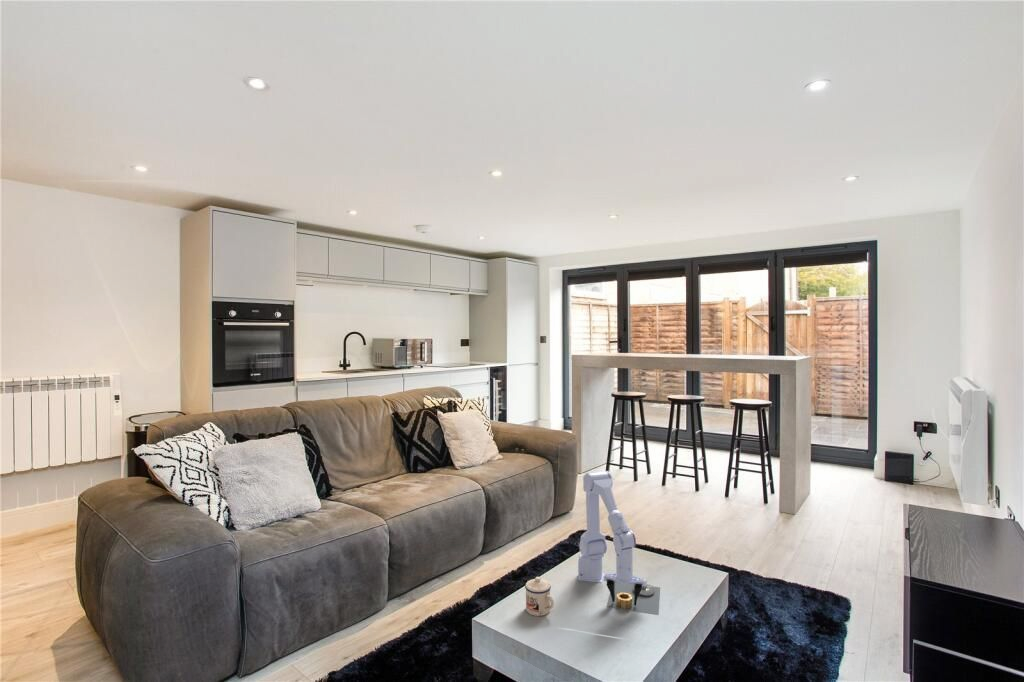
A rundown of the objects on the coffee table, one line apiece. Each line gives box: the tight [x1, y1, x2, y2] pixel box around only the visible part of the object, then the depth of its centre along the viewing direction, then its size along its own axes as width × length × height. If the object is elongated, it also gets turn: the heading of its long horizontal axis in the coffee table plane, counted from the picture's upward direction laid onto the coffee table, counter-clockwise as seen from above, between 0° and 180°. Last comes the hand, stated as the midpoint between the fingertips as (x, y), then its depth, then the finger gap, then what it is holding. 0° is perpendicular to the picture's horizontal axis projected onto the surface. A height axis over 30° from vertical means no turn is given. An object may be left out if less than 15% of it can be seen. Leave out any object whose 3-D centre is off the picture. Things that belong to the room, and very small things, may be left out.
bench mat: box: [606, 582, 661, 616], centre depth 195 cm, size 18×20×1 cm
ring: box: [617, 592, 632, 610], centre depth 189 cm, size 5×5×3 cm
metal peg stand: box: [633, 579, 655, 597], centre depth 199 cm, size 8×8×4 cm
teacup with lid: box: [524, 576, 555, 617], centre depth 186 cm, size 12×9×12 cm
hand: (624, 602), depth 189 cm, fingers open, 7 cm apart
